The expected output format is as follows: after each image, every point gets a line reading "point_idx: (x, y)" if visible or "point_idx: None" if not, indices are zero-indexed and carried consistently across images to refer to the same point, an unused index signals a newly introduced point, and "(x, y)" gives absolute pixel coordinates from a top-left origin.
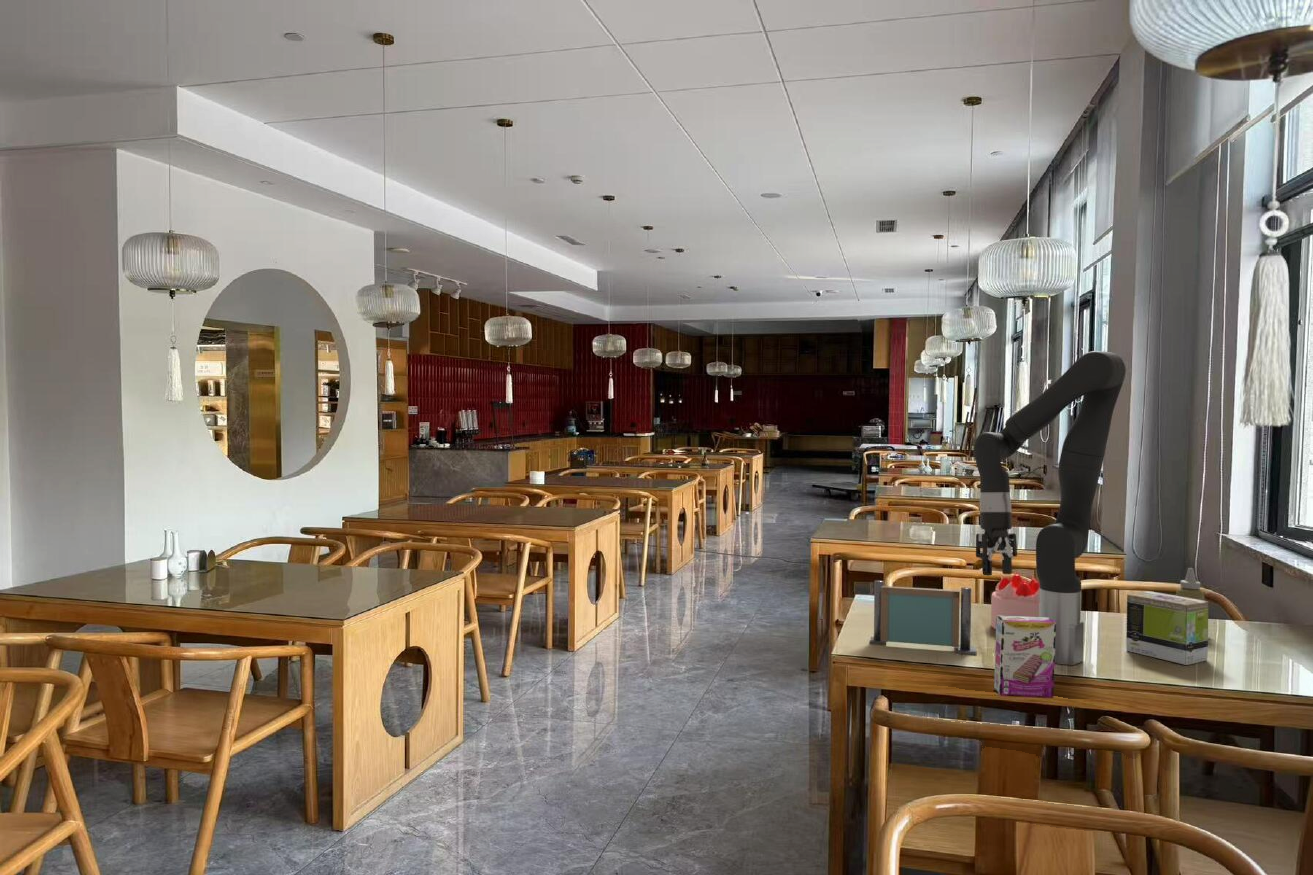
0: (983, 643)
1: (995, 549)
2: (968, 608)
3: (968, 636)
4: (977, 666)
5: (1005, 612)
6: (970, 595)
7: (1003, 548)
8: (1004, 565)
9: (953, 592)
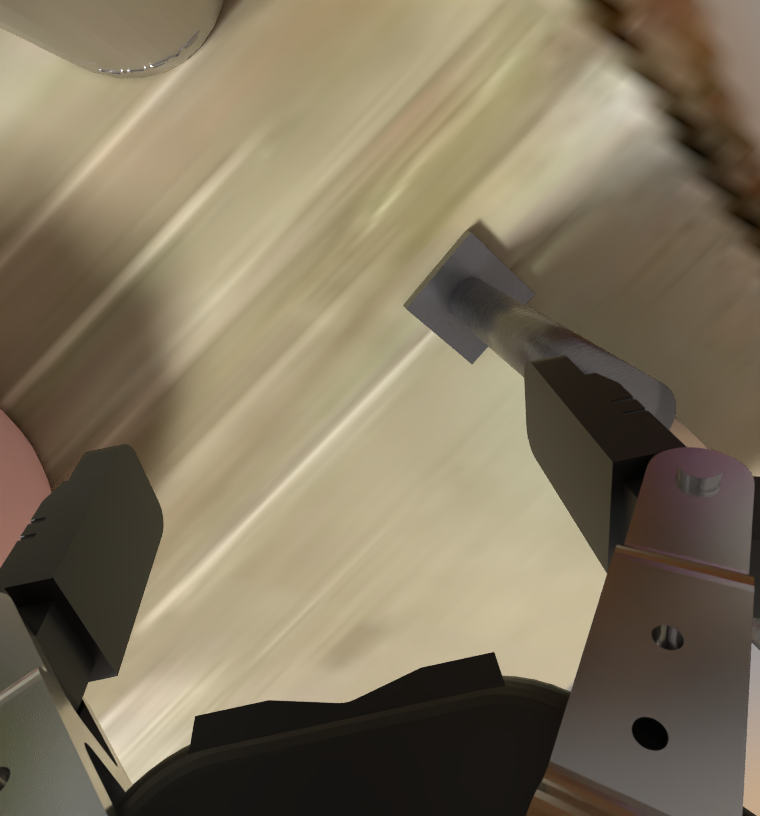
0: (285, 373)
1: (662, 604)
2: (572, 332)
3: (498, 291)
4: (613, 72)
5: (4, 536)
6: (603, 363)
7: (210, 756)
8: (126, 575)
9: (691, 436)
